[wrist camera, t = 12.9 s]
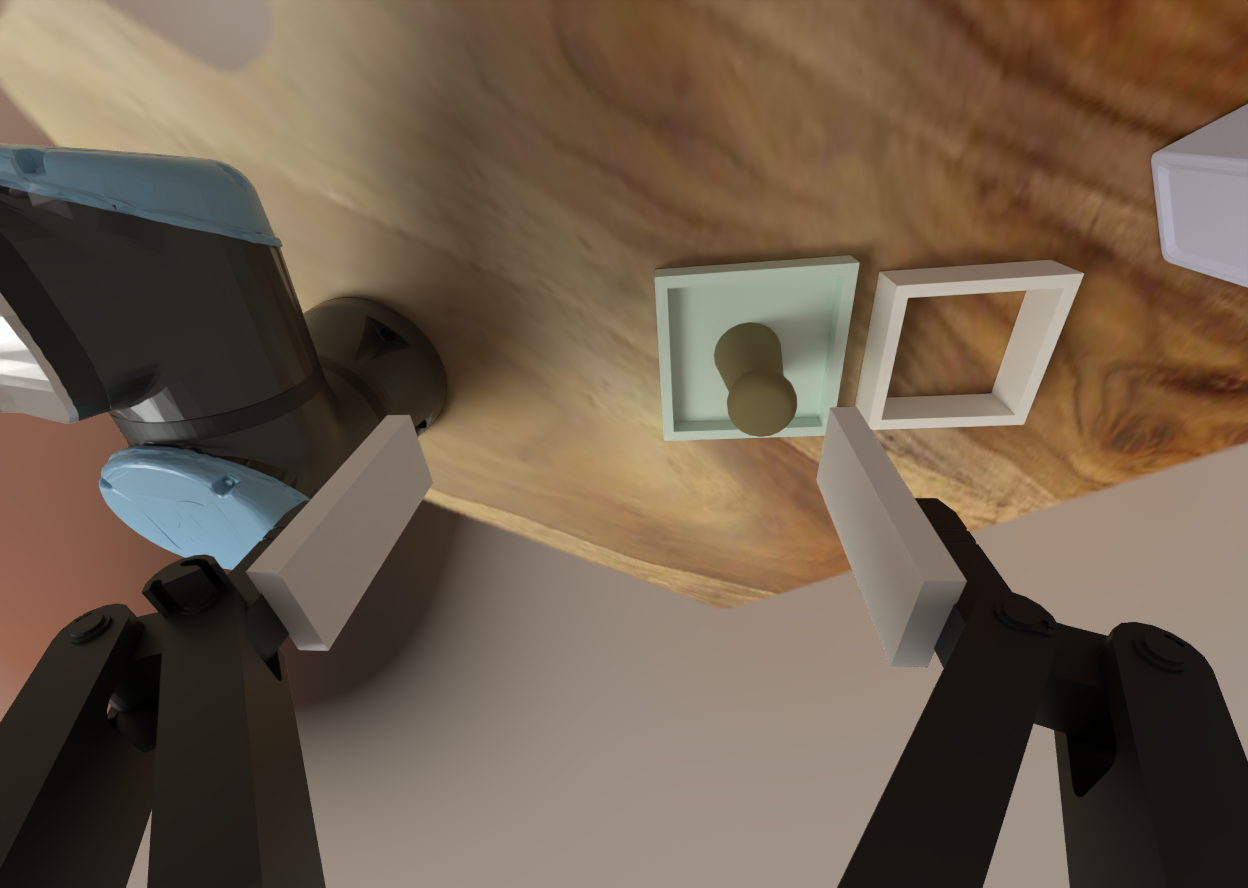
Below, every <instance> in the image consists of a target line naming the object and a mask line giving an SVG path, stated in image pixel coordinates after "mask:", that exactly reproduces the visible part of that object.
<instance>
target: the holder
mask: <svg viewBox="0 0 1248 888" xmlns="http://www.w3.org/2000/svg"><path fill="white" fill-rule="evenodd" d="M1083 276H1084V273H1082V272H1080V271H1077V270H1075V269H1072V268H1070V267H1067V266H1065V265H1062V264H1060V263H1057V262H1055V261H1052V260H1039V261H1025V262H1010V263H996V264H981V265H967V266H952V267H938V268H923V269H909V270H894V271H880V272H879V276H878V281H877V287H876V292H875V298H874V304H873V309H872V315H871V320H870V326H869V331H868V337H867V342H866V348H865V353H864V359H863V364H862V370H861V375H860V381H859V386H858V392H857V397H856V403H855V407H857V408H858V410H859V411H860V413H861V414H862V416H863V417H864V419H865V421H866V422H867V424H868V425H869V427H870V429H871V430H880V429H909V428H939V427H968V426H998V425H1024V423H1025V420H1026V418H1027V415H1028V413H1029V410H1030V408H1031V405H1032V403H1033V400H1034V398H1035V395H1036V393H1037V390H1038V388H1039V385H1040V383H1041V380H1042V378H1043V375H1044V373H1045V370H1046V368H1047V365H1048V363H1049V360H1050V358H1051V355H1052V353H1053V350H1054V348H1055V345H1056V343H1057V340H1058V338H1059V335H1060V333H1061V330H1062V328H1063V325H1064V323H1065V320H1066V318H1067V315H1068V313H1069V311H1070V308H1071V306H1072V303H1073V301H1074V298H1075V296H1076V293H1077V291H1078V288H1079V286H1080V283H1081V281H1082V278H1083ZM1025 290H1027V291H1026V294H1025V297H1024V300H1023V302H1022V305H1021V308H1020V311H1019V314H1018V317H1017V320H1016V323H1015V326H1014V328H1013V331H1012V334H1011V337H1010V340H1009V343H1008V346H1007V349H1006V352H1005V355H1004V357H1003V360H1002V363H1001V366H1000V369H999V372H998V375H997V378H996V381H995V383H994V386H993V389H992V392H991V393H989V394H965V395H940V396H916V397H891V398H886V397H887V392H888V387H889V383H890V378H891V374H892V369H893V365H894V360H895V355H896V351H897V346H898V342H899V337H900V332H901V328H902V323H903V319H904V314H905V310H906V305H907V300H908V298H914V297H930V296H945V295H961V294H977V293H993V292H1009V291H1025Z"/></svg>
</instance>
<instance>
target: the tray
mask: <svg viewBox="0 0 1248 888" xmlns="http://www.w3.org/2000/svg"><path fill="white" fill-rule="evenodd" d="M858 269H859V262H858V261H857V260H856V259H855V258H853V257H852V256H851V255H845V256H832V257H818V258H804V259H791V260H777V261H763V262H750V263H736V264H722V265H709V266H695V267H681V268H668V269H655V276H654V279H655V296H656V313H657V330H658V347H659V365H660V382H661V399H662V416H663V433H664V441H672V440H702V439H733V438H763V437H758V436H751V435H748V434H746V433H744V432H741V431H740V430H739V429H738V428H737V427H736V426H735V425H734V424H733V423H732V421H731V419H730V417H729V415H728V409H727V398H728V394H729V391H728V389H727V387H726V385H725V383H724V381H723V379H722V377H721V375H720V373H719V371H718V369H717V367H716V365H715V360H714V352H715V347H716V344H717V342H718V341H719V339H720V337H721V336H722V335H723V334H724V333H725V332H726V331H728V330H729V329H730V328H732V327H734V326H736V325H738V324H743V323H749V322H752V323H759V324H762V325H764V326H767V327H769V328H770V329H771V330H772V331H773V332H774V333H775V334H776V335H777V337H778V339H779V341H780V344H781V352H782V362H783V373H784V377H786V378H787V379H788V380H789V381H790V382H791V383H792V385H793V388H794V390H795V392H796V395H797V410H796V413H795V416H794V418H793V419H792V421H791V422H790V423H789V425H788V426H787V427H785V428H784V429H783V430H781V431H780V432H778V433H776V434H773V435H771V436H764V437H794V436H824V435H825V432H826V427H827V422H828V417H829V411H830V407H837V401H838V395H839V389H840V382H841V376H842V370H843V363H844V357H845V351H846V345H847V338H848V332H849V326H850V319H851V313H852V307H853V301H854V294H855V288H856V282H857V275H858Z"/></svg>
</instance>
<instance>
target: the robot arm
mask: <svg viewBox="0 0 1248 888" xmlns="http://www.w3.org/2000/svg"><path fill="white" fill-rule="evenodd" d="M280 247H282V243H281V241H280V239H279V238H277V237H276V236H275V235H274V232H273V230H272V228H271V226H270V223H269V221H268V218H267V216H266V214H265V211H264V209H263V206H262V204H261V201H260V199H259V197H258V194H257V192H256V190H255V188H254V186H253V185H252V183H251V182H250V181H249V180H248V179H247V177H246V176H244V175H243V174H242V173H241V172H240V171H238V170H237V169H235V168H234V167H232V166H230V165H228V164H226V163H223V162H220V161H217V160H211V159H204V158H194V157H184V156H173V155H161V154H149V153H136V152H122V151H109V150H96V149H83V148H69V147H55V146H39V145H25V144H5V143H0V412H18V413H25V414H28V415H33V416H37V417H41V418H46V419H50V420H54V421H58V422H62V423H67V424H69V423H74V422H78V421H80V420H84V419H87V418H90V417H93V416H96V415H99V414H102V413H104V412H108V413H109V414H110V416H111V417H112V418H113V420H114V422H115V423H116V425H117V426H118V428H119V430H120V432H121V433H122V434H123V436H124V438H125V439H126V441H127V443H128V448H124V449H122V450H119V451H117V452H116V453H115V454H113V455H112V456H111V457H110V459H109V461H108V463H107V464H106V465H105V466H104V467H103V469H102V471H101V476H102V477H101V478H100V480H99V487H100V491H101V493H102V496H103V497H104V499H105V501H106V503H107V504H108V506H109V507H110V508H111V509H112V511H113V512H114V513H115V514H116V515H117V516H118V517H119V518H120V519H121V520H122V521H124V522H125V523H126V524H127V525H128V526H130V527H131V528H132V529H133V530H135V531H136V532H137V533H139V534H141V535H142V536H144V537H145V538H147V539H148V540H150V541H151V542H153V543H155V544H157V545H159V546H161V547H162V548H164V549H166V550H169V551H171V552H173V553H176V554H179V555H181V556H183V557H185V558H184V559H180V560H178V561H176V562H174V563H172V564H170V565H168V566H167V567H165V568H163V569H162V570H160V571H159V572H158V573H156V574H155V575H154V576H153V577H152V578H151V579H150V580H149V581H148V582H147V583H146V584H145V586H144V589H143V591H142V594H143V595H144V596H145V597H146V598H147V599H148V600H149V601H150V603H151V604H152V605H153V606H154V607H155V608H156V609H157V611H158V612H157V613H153V614H148V615H144V616H140V617H136V615H135V614H134V613H133V612H132V611H131V610H130V609H129V608H128V607H127V606H126V605H123V604H111V605H106V606H102V607H100V608H97V609H94V610H92V611H89V612H87V613H85V614H83V615H82V616H79V617H78V618H76V619H75V620H73V621H72V622H71V623H70V624H68V625H67V626H66V627H65V628H63V629H62V630H61V631H60V632H59V633H58V634H57V636H56V637H55V638H54V639H53V640H52V642H51V644H50V645H49V647H48V648H47V650H46V651H45V653H44V655H43V656H42V658H41V659H40V661H39V662H38V664H37V666H36V667H35V669H34V670H33V672H32V673H31V675H30V677H29V678H28V680H27V681H26V683H25V684H24V686H23V688H22V689H21V691H20V692H19V694H18V696H17V697H16V699H15V700H14V702H13V703H12V705H11V707H10V708H9V710H8V711H7V713H6V714H5V716H4V718H3V719H2V721H1V722H0V888H126V885H127V882H128V879H129V876H130V873H131V870H132V867H133V864H134V861H135V858H136V855H137V852H138V849H139V846H140V843H141V840H142V837H143V834H144V831H145V828H146V825H147V822H148V819H149V816H150V813H151V810H152V819H151V835H150V852H149V867H148V868H149V869H148V883H147V888H326V887H325V881H324V876H323V870H322V864H321V858H320V853H319V847H318V841H317V836H316V831H315V824H314V819H313V813H312V807H311V802H310V796H309V790H308V785H307V779H306V773H305V768H304V762H303V756H302V750H301V745H300V739H299V734H298V728H297V723H296V716H295V711H294V706H293V699H292V694H291V688H290V683H289V677H288V671H287V665H286V660H285V656H284V654H283V653H282V651H281V649H280V648H279V647H280V646H281V644H282V643H283V642H284V640H285V639H286V637H287V636H288V635H289V636H290V637H291V639H292V640H293V642H294V643H295V645H296V646H297V647H298V649H299V650H327V651H328V650H329V649H330V647H331V646H332V644H333V642H334V641H335V639H336V637H337V636H338V634H339V633H340V631H341V629H342V628H343V626H344V625H345V623H346V621H347V620H348V618H349V617H350V615H351V613H352V612H353V610H354V609H355V607H356V605H357V603H358V602H359V600H360V599H361V597H362V596H363V594H364V592H365V591H366V589H367V588H368V586H369V584H370V583H371V581H372V579H373V578H374V576H375V575H376V573H377V572H378V570H379V568H380V567H381V565H382V563H383V562H384V560H385V559H386V557H387V555H388V554H389V552H390V551H391V549H392V547H393V546H394V544H395V543H396V541H397V539H398V538H399V536H400V535H401V533H402V531H403V530H404V528H405V526H406V525H407V523H408V522H409V520H410V518H411V517H412V515H413V514H414V512H415V510H416V509H417V507H418V506H419V504H420V502H421V501H422V499H423V498H424V496H425V494H426V493H427V491H428V489H429V488H430V486H431V485H432V483H433V481H432V478H431V475H430V472H429V469H428V466H427V463H426V460H425V458H424V455H423V452H422V449H421V446H420V443H419V440H418V436H420V435H421V434H422V433H424V432H425V431H426V430H427V429H428V428H429V427H430V426H431V424H432V423H433V422H434V420H435V419H436V418H437V416H438V415H439V414H440V412H441V410H442V408H443V406H444V403H445V399H446V391H447V385H446V377H445V372H444V369H443V366H442V363H441V361H440V358H439V356H438V354H437V352H436V351H435V349H434V347H433V346H432V344H431V343H430V342H429V340H428V339H427V338H426V337H425V336H424V334H423V333H422V332H421V331H420V330H419V329H418V328H417V327H416V326H415V325H414V324H412V323H411V322H410V321H409V320H407V319H406V318H405V317H403V316H402V315H400V314H399V313H397V312H395V311H394V310H392V309H390V308H388V307H386V306H383V305H381V304H378V303H375V302H372V301H369V300H364V299H359V298H337V299H332V300H328V301H326V302H323V303H321V304H319V305H317V306H315V307H314V308H312V309H310V310H308V311H307V312H305V313H302V310H301V307H300V304H299V301H298V298H297V295H296V292H295V289H294V286H293V284H292V281H291V278H290V275H289V272H288V269H287V266H286V263H285V260H284V258H283V255H282V252H281V249H280ZM816 481H817V483H818V486H819V488H820V491H821V493H822V496H823V498H824V501H825V503H826V506H827V508H828V511H829V513H830V516H831V518H832V521H833V523H834V526H835V528H836V531H837V533H838V536H839V538H840V541H841V543H842V546H843V548H844V551H845V553H846V556H847V558H848V561H849V563H850V566H851V568H852V571H853V573H854V576H855V578H856V581H857V583H858V586H859V588H860V591H861V593H862V596H863V598H864V601H865V603H866V606H867V608H868V611H869V613H870V616H871V618H872V621H873V623H874V626H875V628H876V631H877V633H878V636H879V638H880V641H881V643H882V646H883V648H884V651H885V653H886V656H887V658H888V661H889V663H890V666H899V667H928V665H929V662H930V660H931V658H932V656H933V654H934V652H936V653H937V655H938V657H939V660H940V662H941V664H942V666H943V668H944V669H943V671H942V673H941V676H940V677H939V679H938V681H937V683H936V685H935V688H934V689H933V691H932V694H931V696H930V698H929V700H928V702H927V704H926V706H925V708H924V710H923V712H922V714H921V716H920V718H919V720H918V722H917V724H916V727H915V729H914V731H913V733H912V735H911V737H910V739H909V741H908V743H907V745H906V747H905V749H904V751H903V753H902V755H901V757H900V759H899V761H898V764H897V765H896V768H895V770H894V772H893V774H892V776H891V778H890V780H889V782H888V784H887V786H886V788H885V790H884V792H883V794H882V796H881V798H880V801H879V802H878V804H877V807H876V809H875V811H874V813H873V815H872V817H871V819H870V821H869V823H868V825H867V827H866V829H865V831H864V834H863V835H862V837H861V839H860V841H859V844H858V846H857V848H856V850H855V852H854V854H853V856H852V858H851V860H850V862H849V864H848V866H847V868H846V870H845V872H844V875H843V876H842V878H841V881H840V882H839V885H838V887H837V888H983V884H984V881H985V878H986V875H987V872H988V868H989V865H990V862H991V859H992V856H993V852H994V849H995V846H996V842H997V839H998V836H999V833H1000V830H1001V827H1002V823H1003V820H1004V817H1005V814H1006V810H1007V807H1008V804H1009V800H1010V797H1011V794H1012V791H1013V788H1014V785H1015V781H1016V778H1017V775H1018V772H1019V769H1020V765H1021V762H1022V758H1023V756H1024V752H1025V749H1026V746H1027V743H1028V739H1029V736H1030V733H1031V730H1032V726H1033V723H1034V724H1037V725H1040V726H1043V727H1047V728H1050V729H1053V730H1054V733H1055V743H1056V753H1057V763H1058V772H1059V783H1060V793H1061V803H1062V813H1063V823H1064V833H1065V843H1066V852H1067V864H1068V874H1069V883H1070V888H1248V761H1247V758H1246V756H1245V753H1244V750H1243V748H1242V745H1241V742H1240V740H1239V737H1238V735H1237V732H1236V729H1235V727H1234V724H1233V721H1232V719H1231V716H1230V713H1229V711H1228V708H1227V706H1226V703H1225V700H1224V698H1223V695H1222V692H1221V690H1220V687H1219V685H1218V682H1217V679H1216V677H1215V674H1214V671H1213V669H1212V668H1211V666H1210V665H1209V663H1208V662H1207V660H1206V659H1205V657H1204V656H1203V655H1202V654H1201V653H1199V652H1198V651H1197V650H1196V649H1195V648H1194V647H1193V646H1192V645H1190V644H1189V643H1187V642H1185V641H1184V640H1182V639H1181V638H1179V637H1177V636H1176V635H1174V634H1172V633H1170V632H1168V631H1165V630H1162V629H1160V628H1158V627H1155V626H1153V625H1148V624H1143V623H1138V622H1128V623H1121V624H1119V625H1118V626H1117V627H1115V628H1114V629H1113V630H1112V631H1111V632H1110V634H1109V635H1108V636H1106V635H1102V634H1098V633H1094V632H1090V631H1086V630H1082V629H1079V628H1075V627H1071V626H1067V625H1063V624H1060V623H1057V622H1056V621H1055V619H1054V618H1053V616H1052V615H1051V614H1050V613H1049V612H1047V611H1046V610H1045V609H1044V608H1043V607H1042V606H1041V605H1039V604H1037V603H1036V602H1034V601H1032V600H1030V599H1029V598H1027V597H1025V596H1021V595H1019V594H1016V593H1013V592H1012V591H1011V590H1010V588H1009V587H1008V585H1007V584H1006V583H1005V581H1004V580H1003V579H1002V577H1001V576H1000V574H999V573H998V571H997V570H996V569H995V567H994V566H993V564H992V563H991V562H990V560H989V559H988V557H987V556H986V555H985V553H984V552H983V550H982V549H981V548H980V546H979V545H978V544H976V541H975V539H974V538H973V536H972V535H971V533H970V532H969V531H967V528H966V526H965V525H964V524H963V522H962V521H961V519H960V518H959V517H958V515H957V514H956V512H954V511H953V510H952V509H950V508H949V507H948V506H946V505H945V504H944V503H942V502H941V501H940V500H938V499H937V498H914V497H913V495H912V493H911V492H910V490H909V489H908V487H907V486H906V484H905V482H904V481H903V479H902V478H901V476H900V474H899V473H898V471H897V470H896V468H895V467H894V465H893V463H892V462H891V460H890V459H889V457H888V455H887V454H886V452H885V451H884V449H883V448H882V446H881V444H880V443H879V441H878V440H877V438H876V436H875V435H874V433H873V432H872V430H871V429H870V427H869V425H868V424H867V422H866V421H865V419H864V417H863V416H862V414H861V413H860V411H859V410H858V408H857V407H830V411H829V417H828V422H827V427H826V432H825V438H824V443H823V448H822V454H821V459H820V464H819V469H818V475H817V480H816ZM222 568H225V569H231V570H232V571H231V572H230V573H229V574H228V575H226V573H225V572H224V570H223V569H222ZM108 703H109V704H110V705H111V708H110V710H109V712H108V714H107V708H108Z"/></svg>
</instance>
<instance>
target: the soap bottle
mask: <svg viewBox="0 0 1248 888" xmlns="http://www.w3.org/2000/svg"><path fill="white" fill-rule="evenodd" d="M1151 167H1152V175H1153V183H1154V192H1155V200H1156V209H1157V217H1158V226H1159V234H1160V242H1161V251H1162V255H1163V257H1164V259H1165V260H1166V261H1168V262H1169V263H1172V264H1175V265H1178V266H1181V267H1184V268H1188V269H1191V270H1194V271H1197V272H1200V273H1203V274H1207V275H1210V276H1213V277H1216V278H1219V279H1222V280H1226V281H1229V282H1232V283H1235V284H1238V285H1241V286H1245V287H1248V104H1246V105H1244V106H1242V107H1241V108H1239V109H1237V110H1235V111H1233V112H1231V113H1229V114H1227V115H1225V116H1223V117H1222V118H1220V119H1218V120H1216V121H1214V122H1212V123H1210V124H1208V125H1206V126H1204V127H1203V128H1201V129H1199V130H1197V131H1195V132H1193V133H1191V134H1189V135H1187V136H1185V137H1184V138H1182V139H1180V140H1178V141H1176V142H1174V143H1172V144H1170V145H1168V146H1166V147H1165V148H1163V149H1161V150H1159V151H1157V152H1155V153H1153V155H1152V159H1151Z"/></svg>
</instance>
